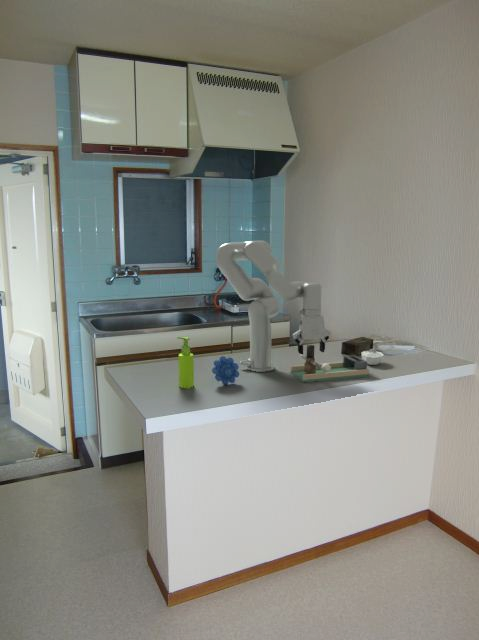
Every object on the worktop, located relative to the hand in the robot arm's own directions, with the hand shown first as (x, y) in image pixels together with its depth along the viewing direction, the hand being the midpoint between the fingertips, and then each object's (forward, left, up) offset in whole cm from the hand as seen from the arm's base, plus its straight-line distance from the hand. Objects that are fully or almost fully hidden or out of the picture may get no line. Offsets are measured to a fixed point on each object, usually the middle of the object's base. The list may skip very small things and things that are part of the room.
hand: (311, 352), depth 215 cm
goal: (+21, 0, -10) cm, 23 cm away
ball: (+7, 0, -8) cm, 10 cm away
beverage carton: (+41, +33, -11) cm, 53 cm away
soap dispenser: (-53, +3, -11) cm, 54 cm away
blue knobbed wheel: (-37, -1, -11) cm, 39 cm away
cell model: (+36, +10, -11) cm, 39 cm away
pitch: (+9, 0, -11) cm, 14 cm away
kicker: (0, 0, -9) cm, 9 cm away
